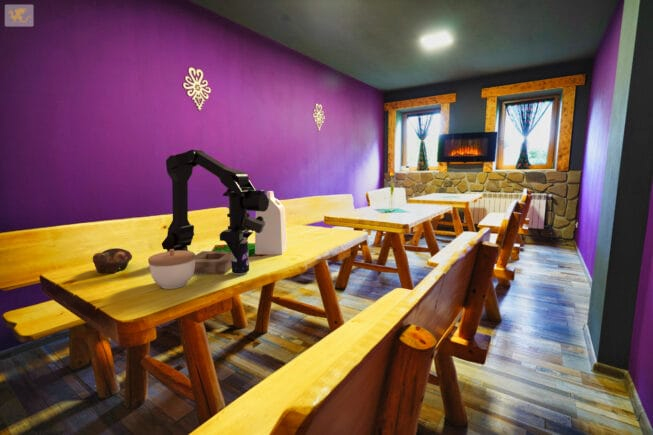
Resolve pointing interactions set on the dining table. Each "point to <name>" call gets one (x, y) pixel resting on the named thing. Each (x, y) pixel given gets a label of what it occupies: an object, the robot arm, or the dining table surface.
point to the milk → (272, 228)
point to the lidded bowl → (172, 268)
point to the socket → (213, 262)
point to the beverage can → (241, 259)
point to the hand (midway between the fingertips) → (239, 255)
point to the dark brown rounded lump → (111, 260)
